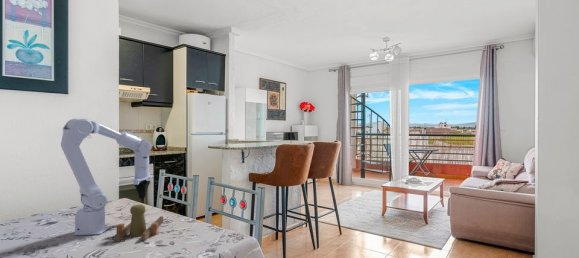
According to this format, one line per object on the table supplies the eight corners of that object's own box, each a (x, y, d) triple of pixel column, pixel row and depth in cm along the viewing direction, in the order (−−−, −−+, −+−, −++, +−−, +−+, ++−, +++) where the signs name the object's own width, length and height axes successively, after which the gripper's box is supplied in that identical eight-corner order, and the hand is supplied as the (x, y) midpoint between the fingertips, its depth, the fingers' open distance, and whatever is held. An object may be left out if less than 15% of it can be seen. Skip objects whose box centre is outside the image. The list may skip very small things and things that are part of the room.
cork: (139, 237, 115) (139, 207, 115) (125, 236, 117) (125, 206, 117) (150, 231, 121) (150, 203, 121) (136, 230, 123) (136, 202, 122)
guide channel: (108, 242, 111) (108, 231, 111) (132, 223, 132) (132, 213, 132) (151, 240, 112) (150, 229, 112) (168, 222, 133) (168, 212, 133)
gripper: (145, 169, 130) (145, 201, 130) (156, 164, 144) (157, 193, 144) (127, 169, 129) (128, 202, 129) (140, 164, 143) (141, 194, 144)
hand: (142, 197), depth 137 cm, fingers closed
